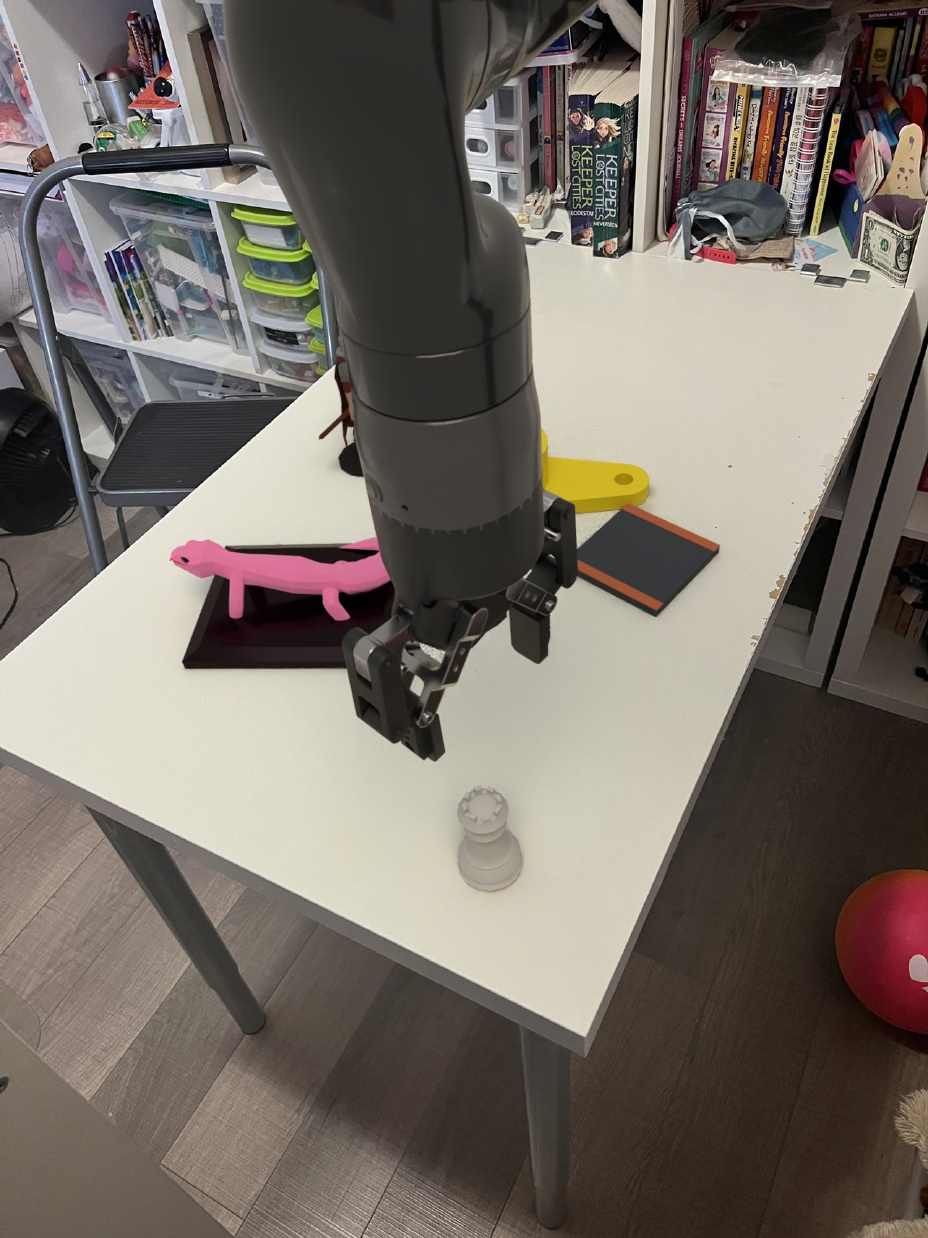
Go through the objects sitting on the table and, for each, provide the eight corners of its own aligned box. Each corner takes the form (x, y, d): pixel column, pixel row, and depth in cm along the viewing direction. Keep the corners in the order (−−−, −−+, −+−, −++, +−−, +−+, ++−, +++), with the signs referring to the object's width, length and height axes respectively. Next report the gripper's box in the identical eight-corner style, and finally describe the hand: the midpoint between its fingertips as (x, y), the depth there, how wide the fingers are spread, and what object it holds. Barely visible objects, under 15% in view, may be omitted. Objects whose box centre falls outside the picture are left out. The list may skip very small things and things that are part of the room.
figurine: (398, 475, 91) (373, 344, 81) (329, 479, 92) (295, 350, 81) (402, 436, 96) (380, 307, 85) (336, 441, 97) (306, 313, 86)
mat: (719, 552, 79) (720, 544, 79) (655, 617, 75) (656, 610, 74) (626, 509, 85) (627, 502, 84) (562, 568, 80) (562, 561, 79)
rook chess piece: (445, 867, 61) (431, 806, 55) (488, 823, 63) (479, 760, 57) (493, 907, 59) (484, 848, 53) (536, 860, 61) (532, 798, 55)
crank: (460, 520, 86) (453, 470, 81) (469, 466, 91) (464, 417, 87) (649, 521, 83) (653, 470, 79) (647, 466, 89) (650, 415, 84)
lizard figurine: (213, 552, 86) (189, 493, 80) (416, 548, 84) (405, 487, 78) (168, 668, 76) (138, 610, 71) (397, 668, 74) (383, 607, 68)
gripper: (393, 601, 32) (441, 827, 44) (626, 414, 38) (613, 655, 50) (265, 518, 36) (341, 747, 48) (497, 361, 42) (512, 596, 54)
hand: (480, 699), depth 49 cm, fingers open, 8 cm apart
